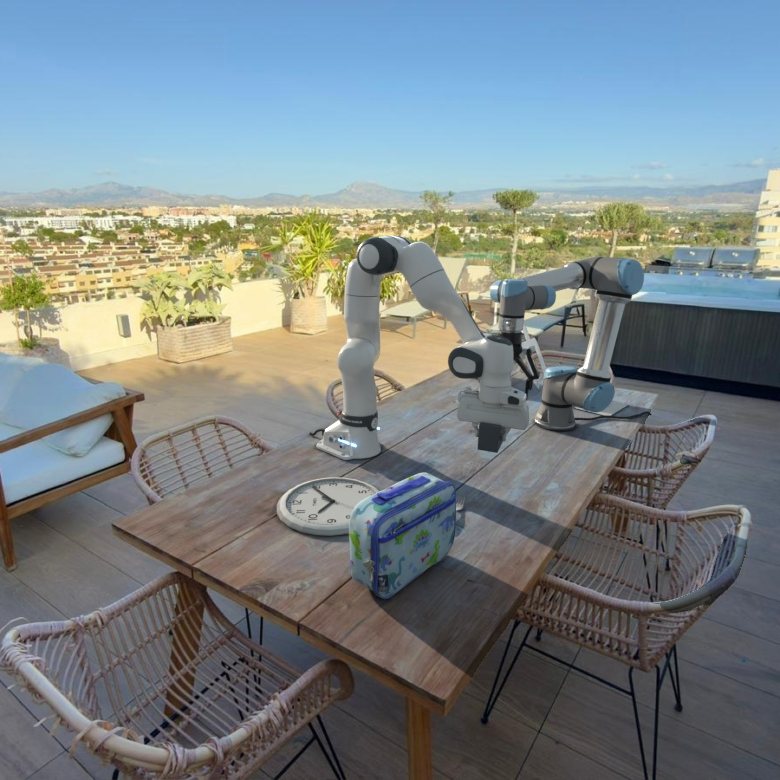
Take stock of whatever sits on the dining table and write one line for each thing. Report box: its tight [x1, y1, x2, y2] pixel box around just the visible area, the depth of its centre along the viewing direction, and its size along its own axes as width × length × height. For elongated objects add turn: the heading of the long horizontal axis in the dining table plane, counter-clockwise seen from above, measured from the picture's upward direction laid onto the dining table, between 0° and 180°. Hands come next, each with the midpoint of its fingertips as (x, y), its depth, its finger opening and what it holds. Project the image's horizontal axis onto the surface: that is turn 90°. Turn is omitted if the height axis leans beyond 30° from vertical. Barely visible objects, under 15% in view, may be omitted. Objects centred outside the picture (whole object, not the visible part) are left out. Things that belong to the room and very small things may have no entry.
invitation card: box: [573, 400, 629, 416], centre depth 226 cm, size 21×1×15 cm
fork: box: [456, 494, 466, 512], centre depth 138 cm, size 3×16×2 cm, turn 160°
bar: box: [476, 422, 506, 454], centre depth 160 cm, size 26×6×8 cm, turn 158°
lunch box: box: [348, 471, 457, 600], centre depth 113 cm, size 26×11×21 cm, turn 134°
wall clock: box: [276, 476, 381, 537], centre depth 142 cm, size 30×2×30 cm
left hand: (490, 438), depth 152 cm, fingers closed on bar, 6 cm apart
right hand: (504, 396), depth 167 cm, fingers open, 13 cm apart
